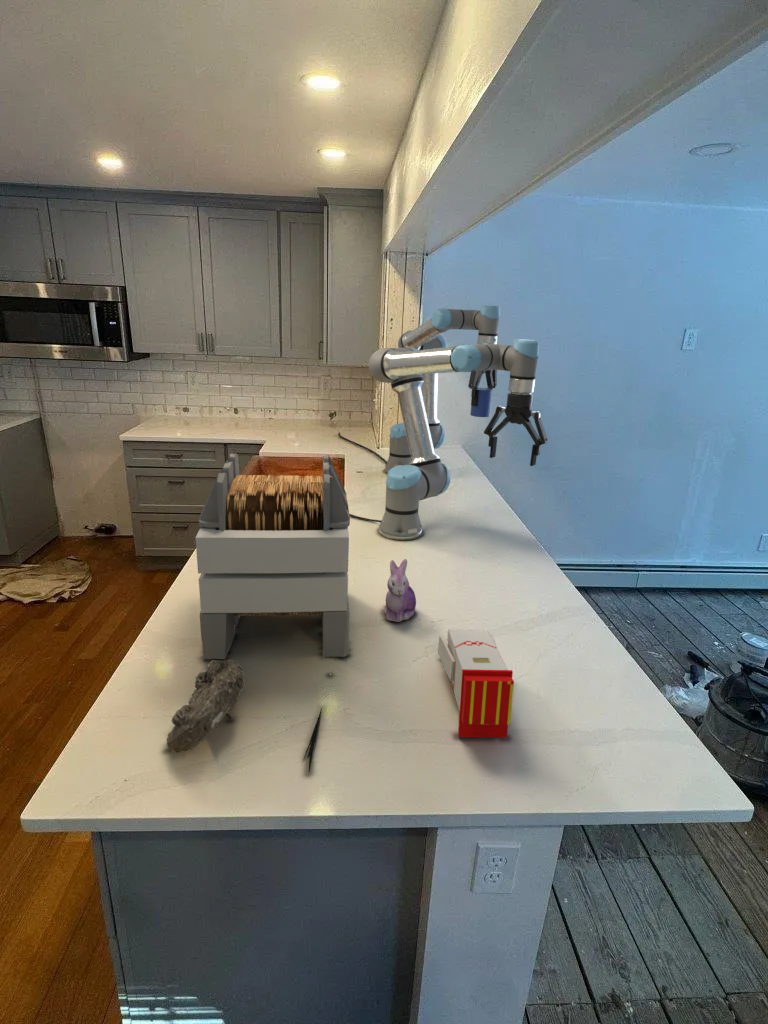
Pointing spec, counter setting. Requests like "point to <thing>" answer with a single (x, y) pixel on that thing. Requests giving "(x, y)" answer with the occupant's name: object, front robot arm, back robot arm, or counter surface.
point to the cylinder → (482, 403)
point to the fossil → (206, 705)
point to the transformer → (273, 554)
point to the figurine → (399, 594)
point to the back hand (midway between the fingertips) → (480, 404)
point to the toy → (478, 682)
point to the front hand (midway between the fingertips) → (512, 461)
